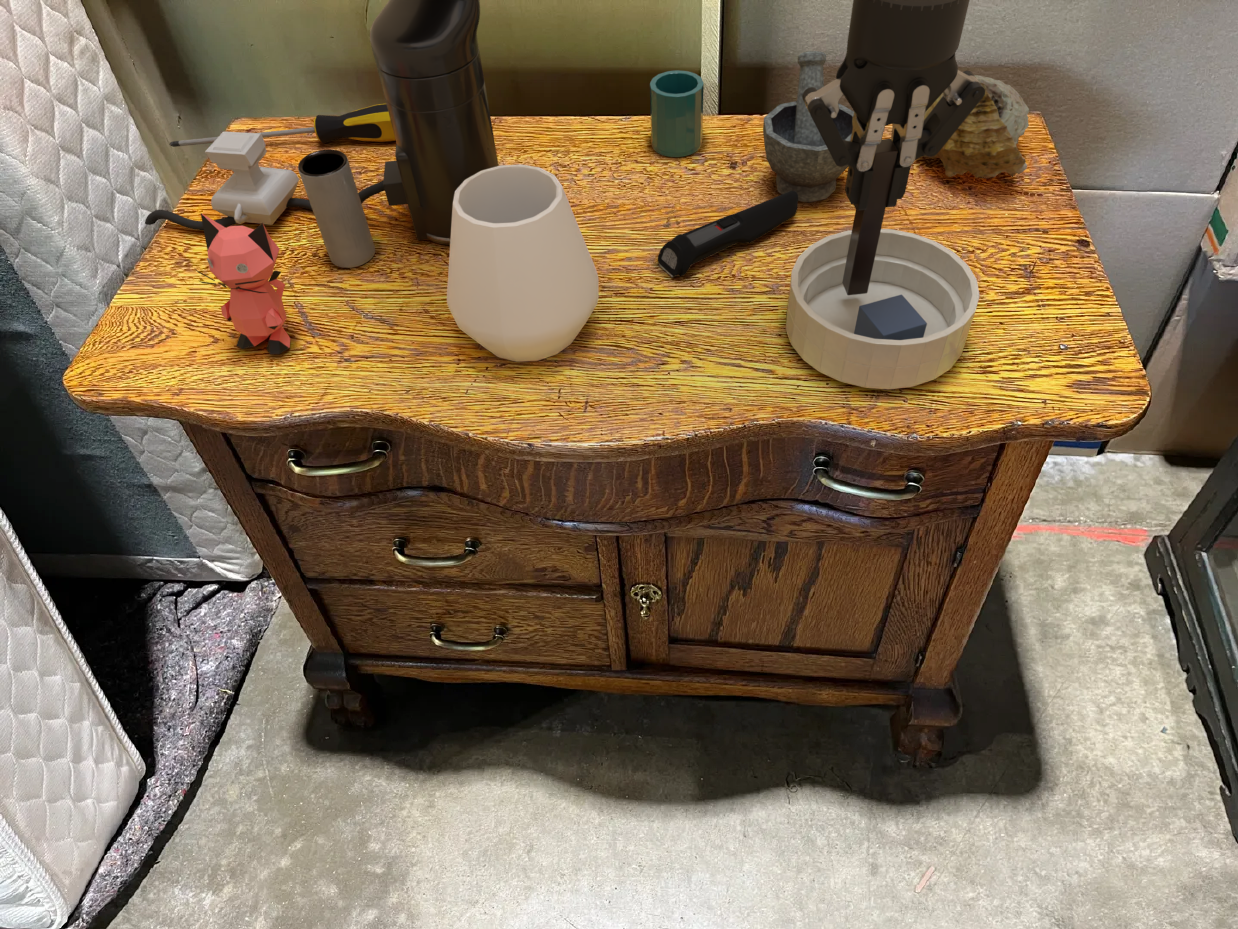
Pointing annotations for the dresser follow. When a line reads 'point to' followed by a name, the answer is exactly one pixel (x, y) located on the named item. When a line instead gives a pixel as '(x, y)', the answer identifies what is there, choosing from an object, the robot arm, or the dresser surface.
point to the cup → (518, 264)
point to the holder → (676, 113)
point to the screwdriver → (335, 127)
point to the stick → (869, 222)
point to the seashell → (987, 134)
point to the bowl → (899, 267)
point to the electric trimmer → (726, 233)
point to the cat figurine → (248, 282)
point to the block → (890, 320)
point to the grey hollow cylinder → (337, 207)
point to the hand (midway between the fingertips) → (872, 202)
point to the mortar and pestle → (804, 139)
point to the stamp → (249, 180)
